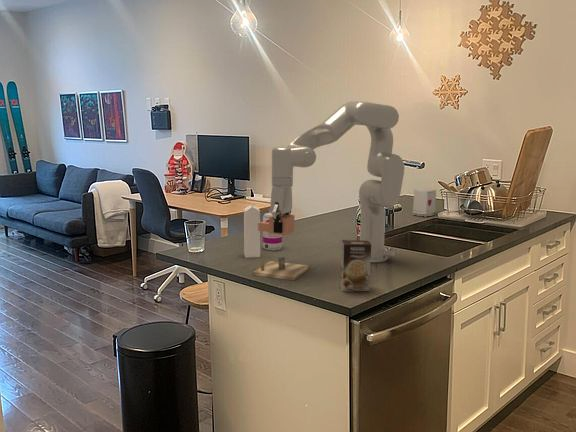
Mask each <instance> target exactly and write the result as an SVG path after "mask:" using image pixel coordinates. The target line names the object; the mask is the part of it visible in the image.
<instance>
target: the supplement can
mask: <svg viewBox="0 0 576 432" xmlns="http://www.w3.org/2000/svg"><path fill="white" fill-rule="evenodd" d="M271 216H273V215H272V214H271V212H266V213H264V214H263V216H262V222H268V223H269V217H271ZM262 247H263V249H264V251H265V250H266V251H273V252H274V251H280V250H281V249H282V248H283V235H279V234H269V232H265V231H262Z"/></svg>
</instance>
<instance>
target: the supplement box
mask: <svg viewBox="0 0 576 432" xmlns="http://www.w3.org/2000/svg"><path fill="white" fill-rule="evenodd" d="M413 190H414V191H413V204H412V207H413V208H412V214H413V213H417V214H431V213H434V212H435V213H436V203H437V201H436V200H437V189H434V188H433V189H432V188H426V187H421V188H415V189H413Z"/></svg>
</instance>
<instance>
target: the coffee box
mask: <svg viewBox="0 0 576 432" xmlns="http://www.w3.org/2000/svg"><path fill="white" fill-rule="evenodd" d="M340 249H341V253H340V278H339V281H340V282H339V286H340V289H341V291H342V292H354V291H369V292H370V281H371V280H370V278H371V263H372V262H371V243H370V242H368V241H363V240H360V239H359V240H356V239H352V240H351V239H342V240H341V248H340Z"/></svg>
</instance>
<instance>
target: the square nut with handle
mask: <svg viewBox="0 0 576 432" xmlns="http://www.w3.org/2000/svg"><path fill="white" fill-rule="evenodd" d="M279 217H280V216H279ZM281 222H282V233H274V222H273V216H271V217H269V223H268V222H263V221H260V222H259V223H258V231H260V232H263V231H265V232H269V234H279V235H282V236H288V235H290V234H293V233H295V215H294V214H291V215H285V214H283V216H282V221H281Z"/></svg>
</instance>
